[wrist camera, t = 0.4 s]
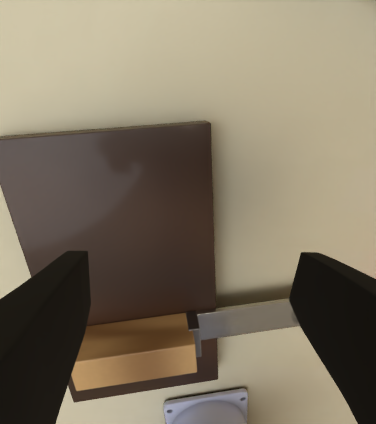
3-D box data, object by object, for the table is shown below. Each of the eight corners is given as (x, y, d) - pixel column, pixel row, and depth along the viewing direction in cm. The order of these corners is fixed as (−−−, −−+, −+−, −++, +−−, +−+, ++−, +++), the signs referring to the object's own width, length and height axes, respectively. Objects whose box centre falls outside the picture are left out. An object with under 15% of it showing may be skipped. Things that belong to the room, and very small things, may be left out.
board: (214, 364, 25) (218, 379, 24) (77, 385, 24) (73, 402, 23) (205, 120, 17) (210, 122, 16) (-1, 136, 16) (-16, 140, 15)
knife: (85, 353, 21) (76, 392, 18) (78, 326, 20) (66, 362, 17) (317, 319, 23) (341, 350, 20) (322, 292, 22) (347, 321, 19)
